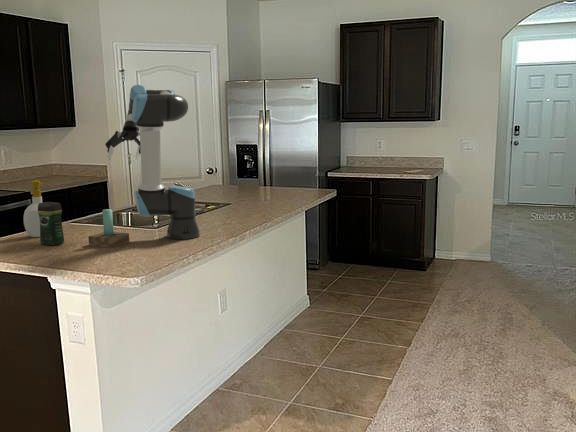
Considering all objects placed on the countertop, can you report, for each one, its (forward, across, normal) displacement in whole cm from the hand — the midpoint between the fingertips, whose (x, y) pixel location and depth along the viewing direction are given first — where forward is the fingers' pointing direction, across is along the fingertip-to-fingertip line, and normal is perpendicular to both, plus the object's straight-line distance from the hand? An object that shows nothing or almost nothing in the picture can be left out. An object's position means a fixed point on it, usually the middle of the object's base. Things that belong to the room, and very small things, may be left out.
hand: (122, 158), depth 266 cm
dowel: (+43, -1, -6) cm, 43 cm away
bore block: (+44, -1, -7) cm, 44 cm away
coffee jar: (+45, +24, -6) cm, 51 cm away
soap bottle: (+34, +37, -17) cm, 53 cm away
